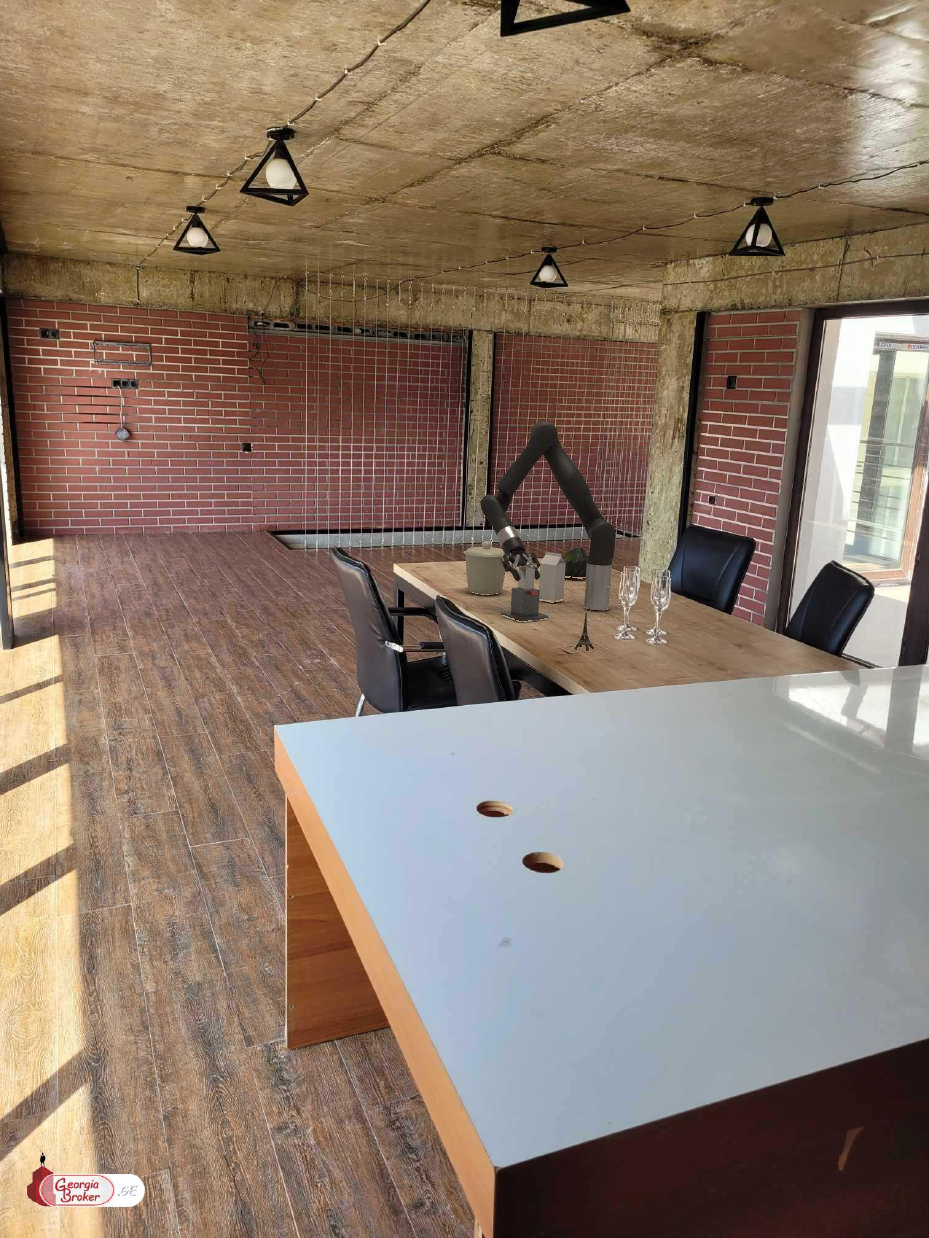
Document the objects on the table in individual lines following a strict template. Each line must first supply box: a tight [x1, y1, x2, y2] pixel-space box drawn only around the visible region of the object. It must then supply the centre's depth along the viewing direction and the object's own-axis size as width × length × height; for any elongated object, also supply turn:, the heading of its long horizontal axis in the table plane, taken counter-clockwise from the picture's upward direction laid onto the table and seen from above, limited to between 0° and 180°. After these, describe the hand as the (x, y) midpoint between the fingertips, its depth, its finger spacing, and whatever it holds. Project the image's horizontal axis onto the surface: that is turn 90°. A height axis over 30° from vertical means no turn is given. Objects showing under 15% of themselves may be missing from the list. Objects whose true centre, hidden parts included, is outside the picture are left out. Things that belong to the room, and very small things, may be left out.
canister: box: [463, 540, 506, 594], centre depth 368 cm, size 18×18×21 cm
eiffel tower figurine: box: [567, 609, 594, 651], centre depth 287 cm, size 15×10×13 cm
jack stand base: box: [500, 586, 549, 621], centre depth 328 cm, size 12×12×10 cm
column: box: [517, 566, 535, 591], centre depth 326 cm, size 4×4×16 cm
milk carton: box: [538, 551, 566, 601], centre depth 357 cm, size 7×7×19 cm
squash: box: [562, 547, 589, 577], centre depth 409 cm, size 14×15×15 cm
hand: (528, 579), depth 324 cm, fingers open, 8 cm apart
